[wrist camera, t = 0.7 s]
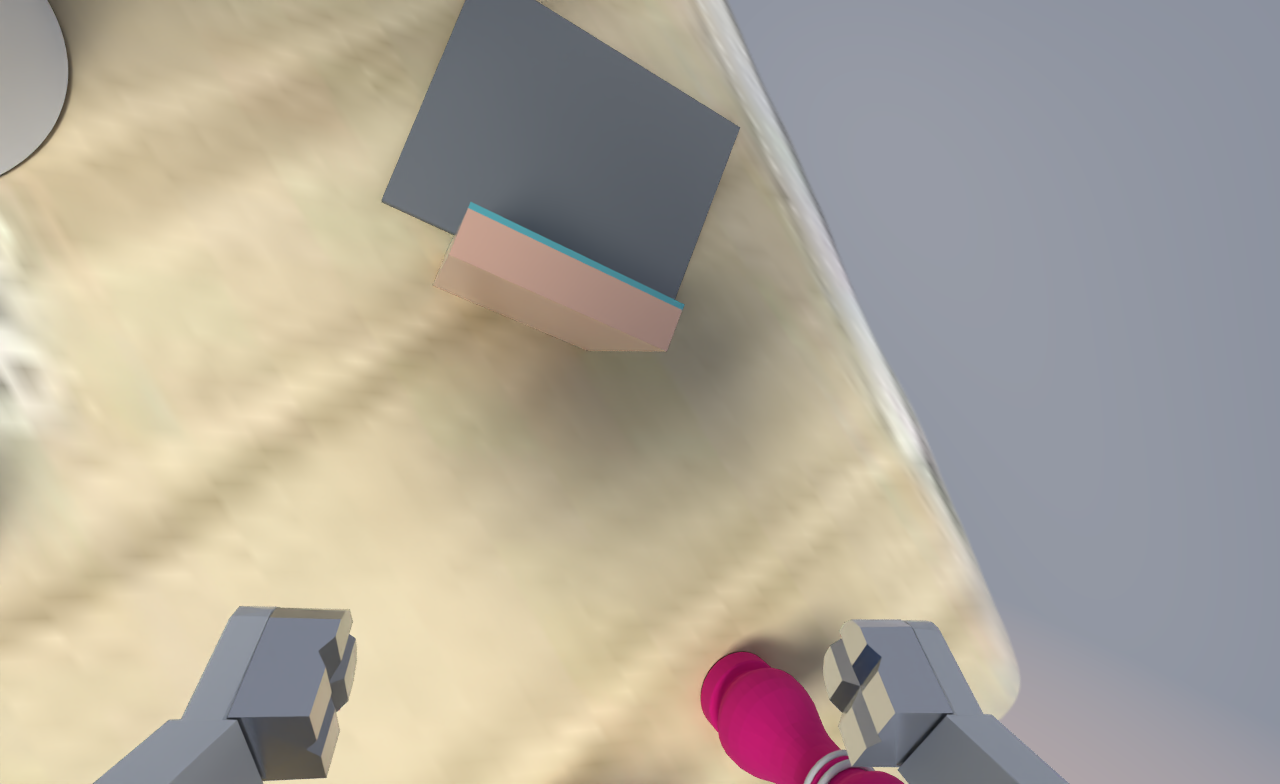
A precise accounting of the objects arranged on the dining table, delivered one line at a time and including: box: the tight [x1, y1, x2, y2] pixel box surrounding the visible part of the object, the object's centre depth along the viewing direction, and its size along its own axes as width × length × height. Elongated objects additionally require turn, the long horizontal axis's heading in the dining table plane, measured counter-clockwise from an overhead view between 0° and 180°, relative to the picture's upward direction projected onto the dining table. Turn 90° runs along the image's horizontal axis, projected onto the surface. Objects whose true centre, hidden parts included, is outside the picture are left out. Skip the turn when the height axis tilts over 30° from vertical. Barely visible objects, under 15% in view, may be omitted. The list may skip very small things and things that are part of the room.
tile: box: [433, 202, 685, 352], centre depth 36 cm, size 2×11×14 cm, turn 68°
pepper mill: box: [701, 652, 904, 784], centre depth 41 cm, size 7×7×20 cm
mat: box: [382, 0, 740, 300], centre depth 43 cm, size 16×20×1 cm
